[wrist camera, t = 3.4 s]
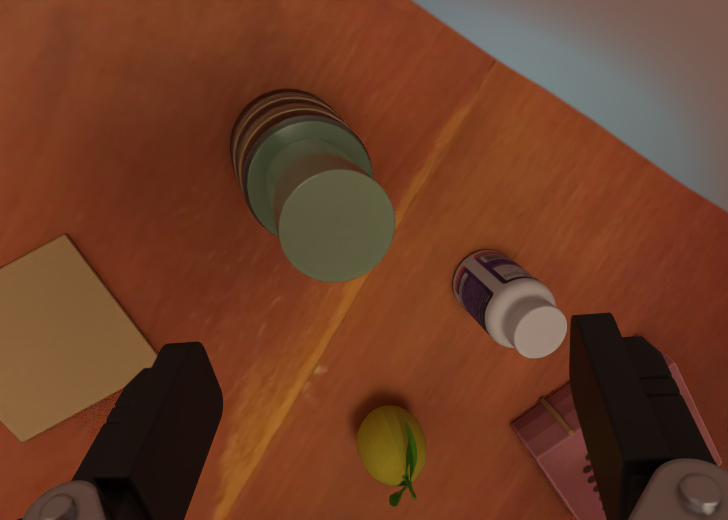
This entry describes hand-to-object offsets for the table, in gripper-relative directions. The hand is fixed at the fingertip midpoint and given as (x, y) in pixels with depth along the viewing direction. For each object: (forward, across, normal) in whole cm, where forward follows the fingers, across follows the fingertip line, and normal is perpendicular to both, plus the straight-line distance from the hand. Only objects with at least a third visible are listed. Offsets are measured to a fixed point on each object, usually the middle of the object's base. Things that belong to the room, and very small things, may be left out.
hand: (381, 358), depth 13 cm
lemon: (+26, +6, +30) cm, 41 cm away
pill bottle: (+32, -4, +20) cm, 38 cm away
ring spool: (+20, +6, +5) cm, 21 cm away
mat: (+21, +28, +15) cm, 38 cm away
